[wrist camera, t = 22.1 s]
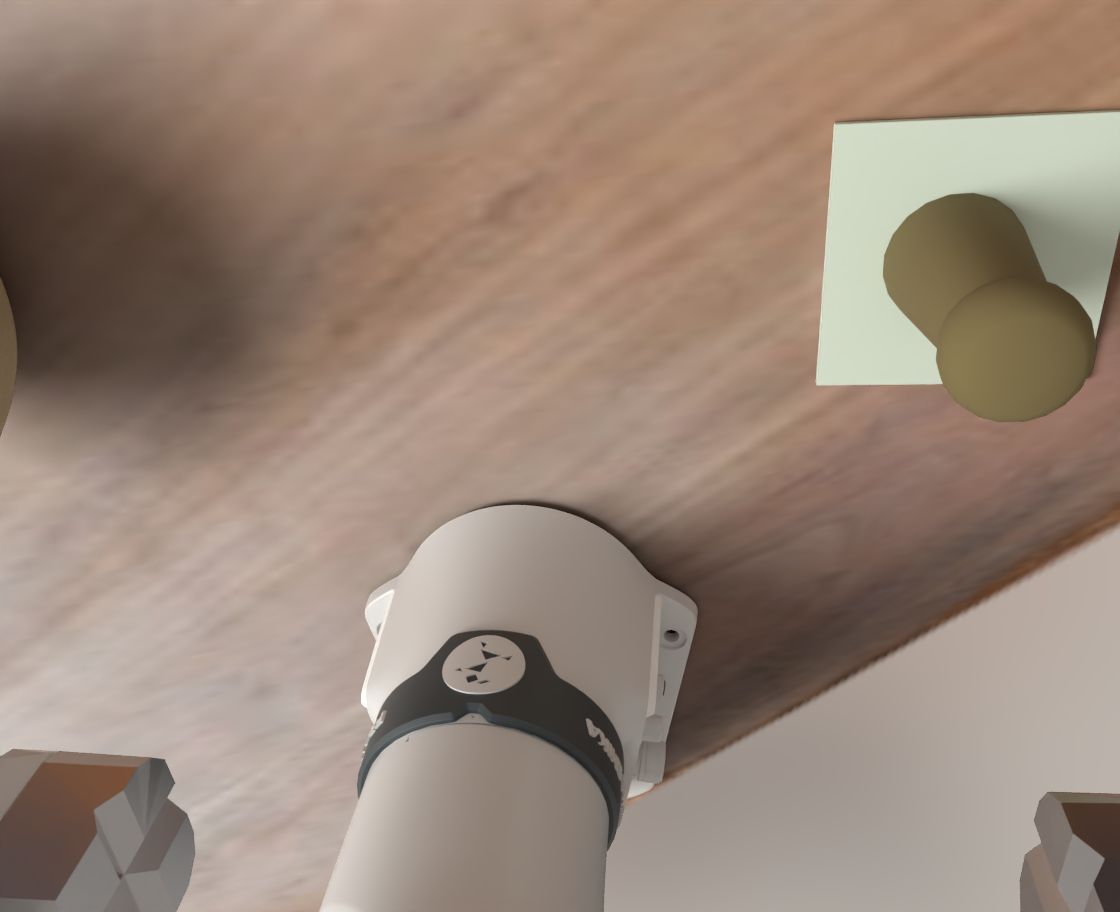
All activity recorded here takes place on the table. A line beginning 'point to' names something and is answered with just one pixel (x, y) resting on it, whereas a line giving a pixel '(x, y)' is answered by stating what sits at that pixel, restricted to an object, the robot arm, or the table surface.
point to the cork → (988, 309)
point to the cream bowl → (6, 356)
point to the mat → (955, 168)
